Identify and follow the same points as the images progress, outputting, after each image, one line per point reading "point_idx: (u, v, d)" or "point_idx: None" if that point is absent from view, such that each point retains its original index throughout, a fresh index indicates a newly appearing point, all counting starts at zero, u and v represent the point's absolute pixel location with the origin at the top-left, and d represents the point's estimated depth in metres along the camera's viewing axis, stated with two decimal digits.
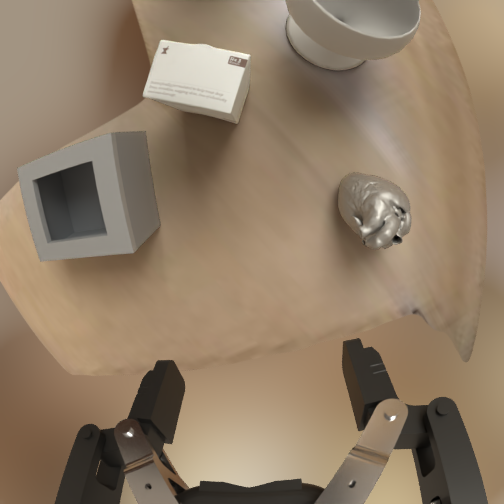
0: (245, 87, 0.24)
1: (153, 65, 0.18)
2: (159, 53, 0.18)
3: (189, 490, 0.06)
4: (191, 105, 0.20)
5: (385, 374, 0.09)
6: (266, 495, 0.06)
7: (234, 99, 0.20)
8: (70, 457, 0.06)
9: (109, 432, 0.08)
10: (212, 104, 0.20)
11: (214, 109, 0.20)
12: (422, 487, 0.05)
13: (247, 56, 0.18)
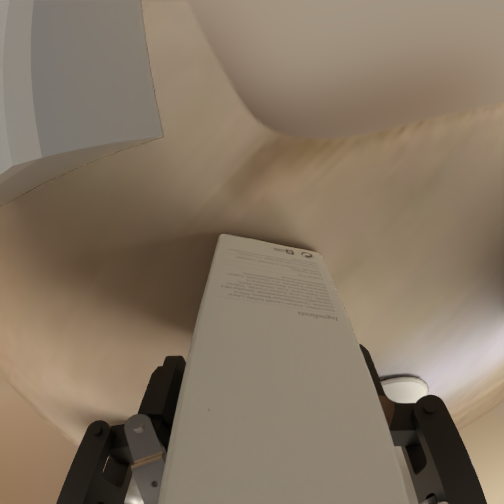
0: None
1: None
2: None
3: None
4: None
5: (374, 371, 0.09)
6: None
7: None
8: (77, 453, 0.07)
9: (118, 428, 0.09)
10: None
11: None
12: (416, 484, 0.05)
13: None
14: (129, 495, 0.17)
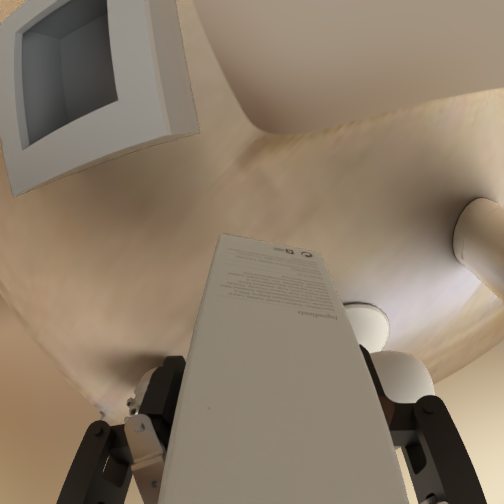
0: None
1: None
2: None
3: None
4: None
5: (373, 371, 0.09)
6: None
7: None
8: (78, 453, 0.07)
9: (118, 428, 0.09)
10: None
11: None
12: (415, 484, 0.05)
13: None
14: None
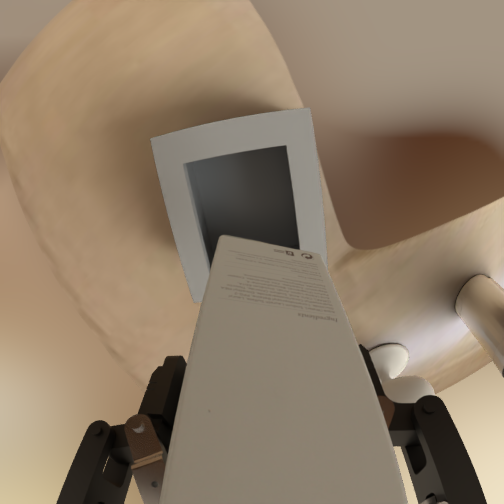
0: None
1: None
2: None
3: None
4: None
5: (373, 371, 0.09)
6: None
7: None
8: (78, 453, 0.07)
9: (118, 428, 0.09)
10: None
11: None
12: (416, 484, 0.05)
13: None
14: None
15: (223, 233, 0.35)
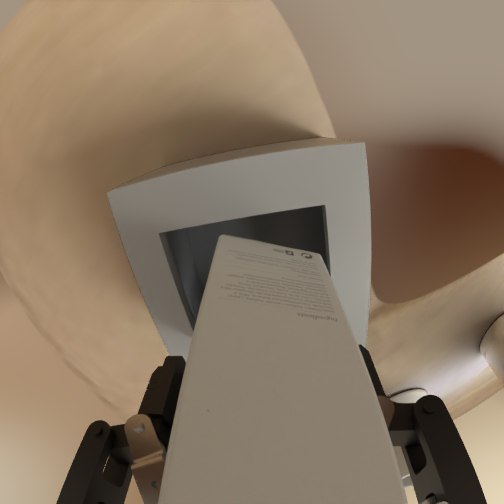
0: None
1: None
2: None
3: None
4: None
5: (373, 371, 0.09)
6: None
7: None
8: (78, 453, 0.07)
9: (118, 428, 0.09)
10: None
11: None
12: (416, 484, 0.05)
13: None
14: None
15: None
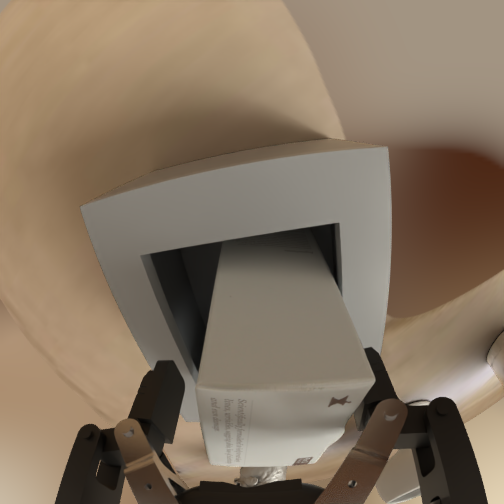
0: None
1: (295, 394, 0.07)
2: (332, 395, 0.07)
3: (189, 490, 0.06)
4: None
5: (385, 374, 0.09)
6: (266, 495, 0.06)
7: None
8: (70, 457, 0.06)
9: (109, 432, 0.08)
10: (215, 455, 0.10)
11: (209, 456, 0.10)
12: (422, 487, 0.05)
13: (313, 462, 0.11)
14: None
15: None
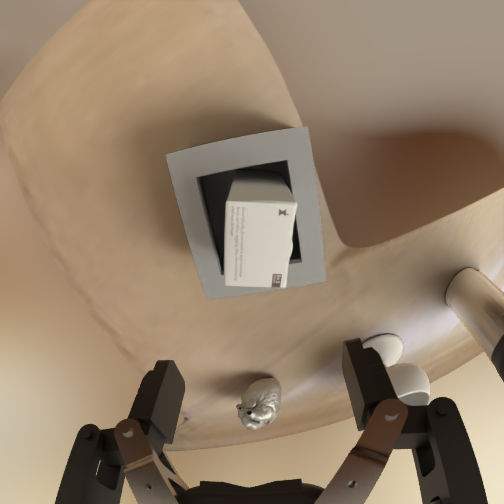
0: None
1: (264, 204, 0.21)
2: (279, 207, 0.21)
3: (189, 490, 0.06)
4: (224, 251, 0.23)
5: (385, 374, 0.09)
6: (266, 495, 0.06)
7: (238, 285, 0.25)
8: (70, 457, 0.06)
9: (108, 432, 0.08)
10: (229, 269, 0.24)
11: (225, 272, 0.24)
12: (422, 487, 0.05)
13: (283, 286, 0.25)
14: (259, 413, 0.44)
15: None
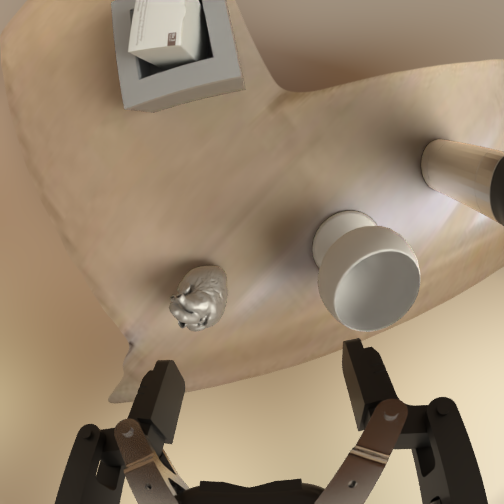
0: (176, 59, 0.25)
1: None
2: None
3: (189, 490, 0.06)
4: (131, 25, 0.18)
5: (385, 374, 0.09)
6: (266, 495, 0.06)
7: (139, 49, 0.19)
8: (70, 457, 0.06)
9: (108, 432, 0.08)
10: (132, 37, 0.19)
11: (129, 40, 0.19)
12: (422, 487, 0.05)
13: (178, 44, 0.19)
14: (191, 299, 0.38)
15: None
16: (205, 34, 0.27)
